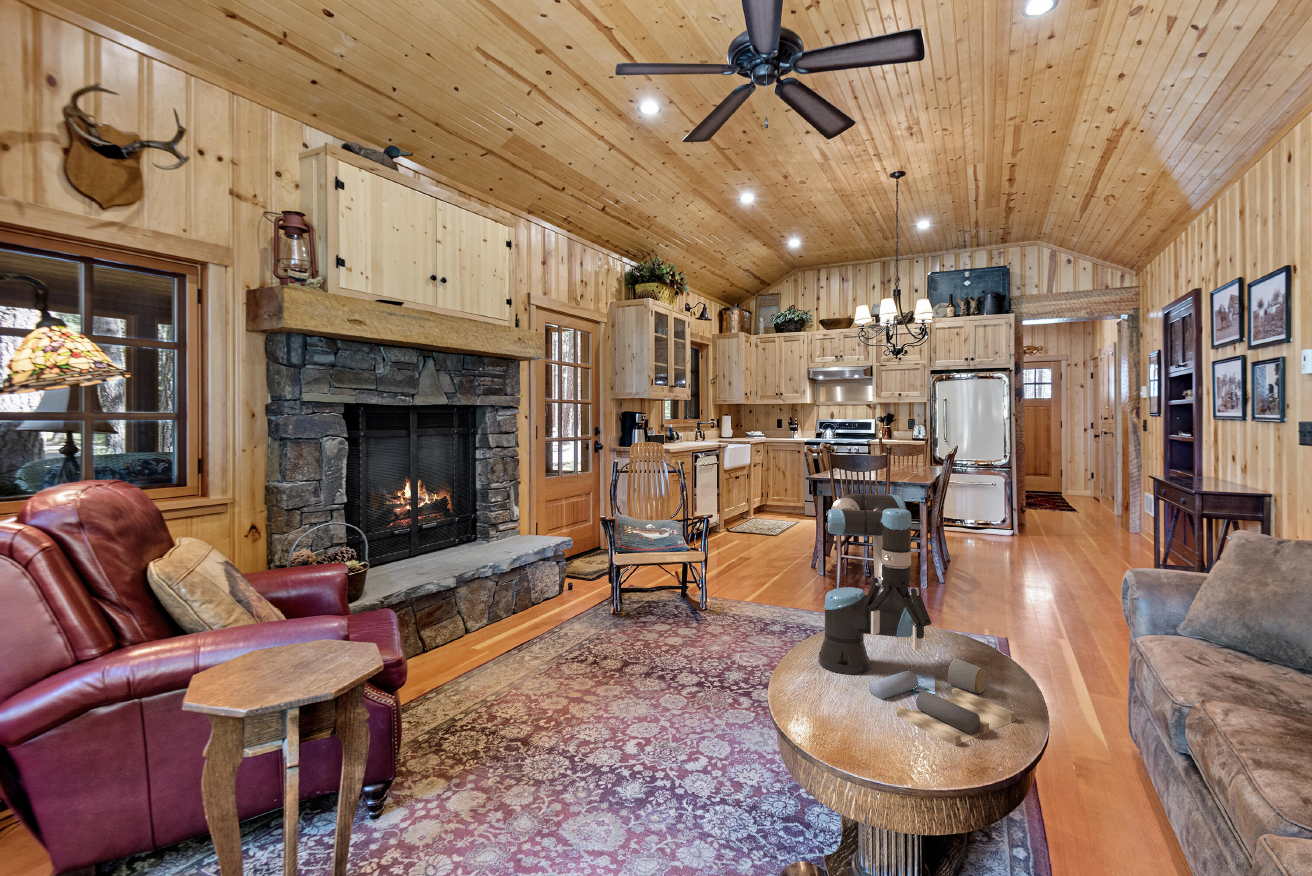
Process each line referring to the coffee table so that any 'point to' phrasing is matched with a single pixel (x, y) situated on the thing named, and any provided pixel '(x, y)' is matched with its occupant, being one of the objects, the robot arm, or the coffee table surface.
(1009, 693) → the coffee table surface
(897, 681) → the gray dowel
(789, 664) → the coffee table surface
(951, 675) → the ceramic mug
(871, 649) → the coffee table surface
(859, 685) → the coffee table surface
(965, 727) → the charcoal rod
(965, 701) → the slot rack
